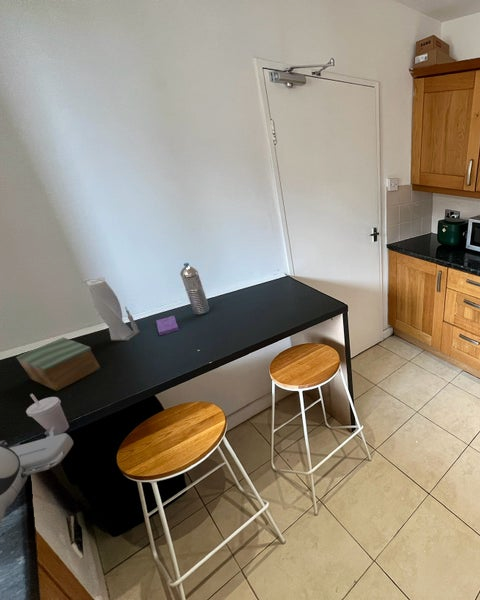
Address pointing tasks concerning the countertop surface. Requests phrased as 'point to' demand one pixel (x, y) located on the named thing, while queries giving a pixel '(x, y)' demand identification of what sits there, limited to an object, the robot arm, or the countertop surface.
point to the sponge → (167, 325)
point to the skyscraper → (110, 309)
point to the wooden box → (63, 371)
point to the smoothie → (48, 413)
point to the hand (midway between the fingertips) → (28, 436)
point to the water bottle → (194, 290)
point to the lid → (53, 353)
